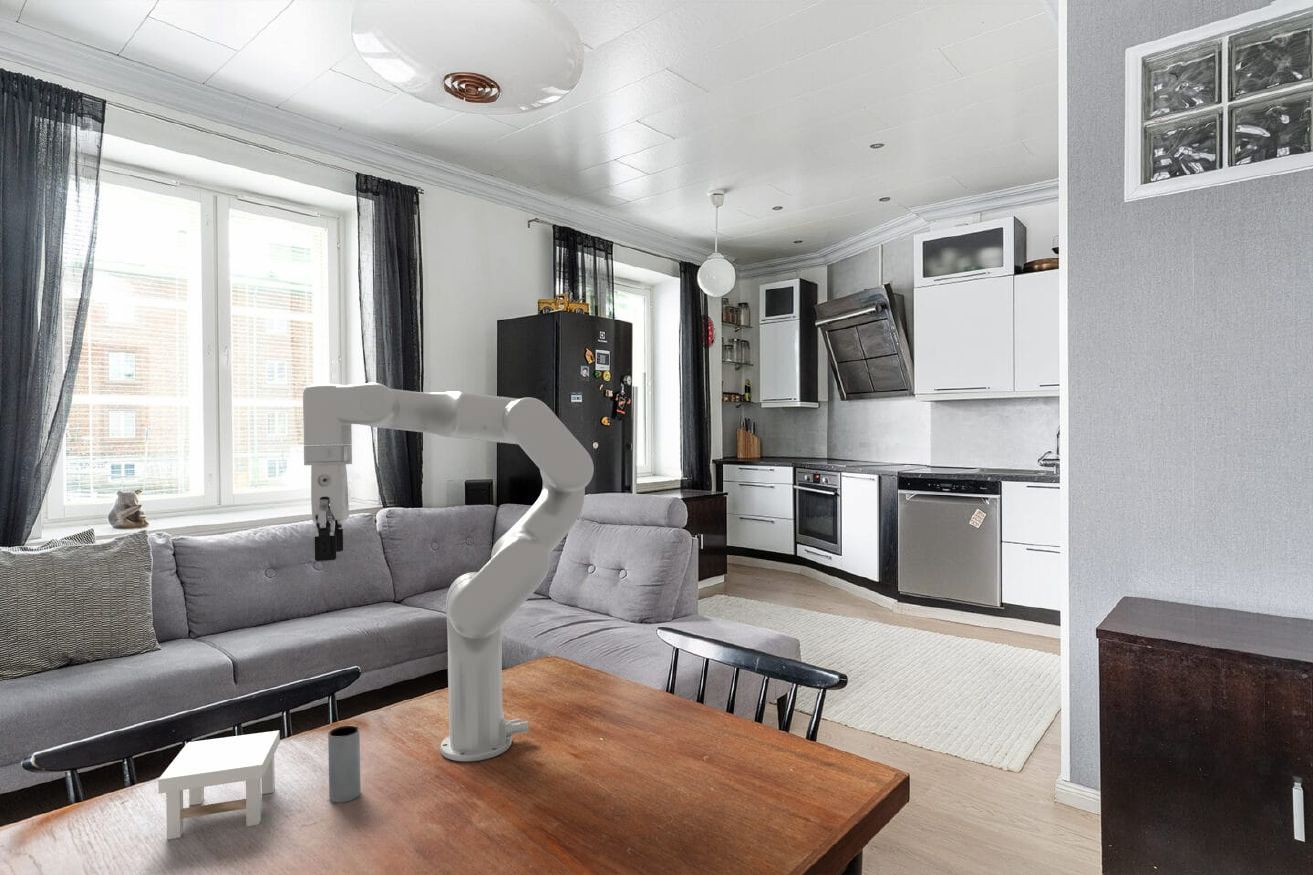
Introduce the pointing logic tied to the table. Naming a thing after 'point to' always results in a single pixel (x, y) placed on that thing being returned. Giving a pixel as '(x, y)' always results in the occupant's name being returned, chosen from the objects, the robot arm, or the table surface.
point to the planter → (344, 763)
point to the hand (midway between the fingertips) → (329, 555)
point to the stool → (219, 776)
